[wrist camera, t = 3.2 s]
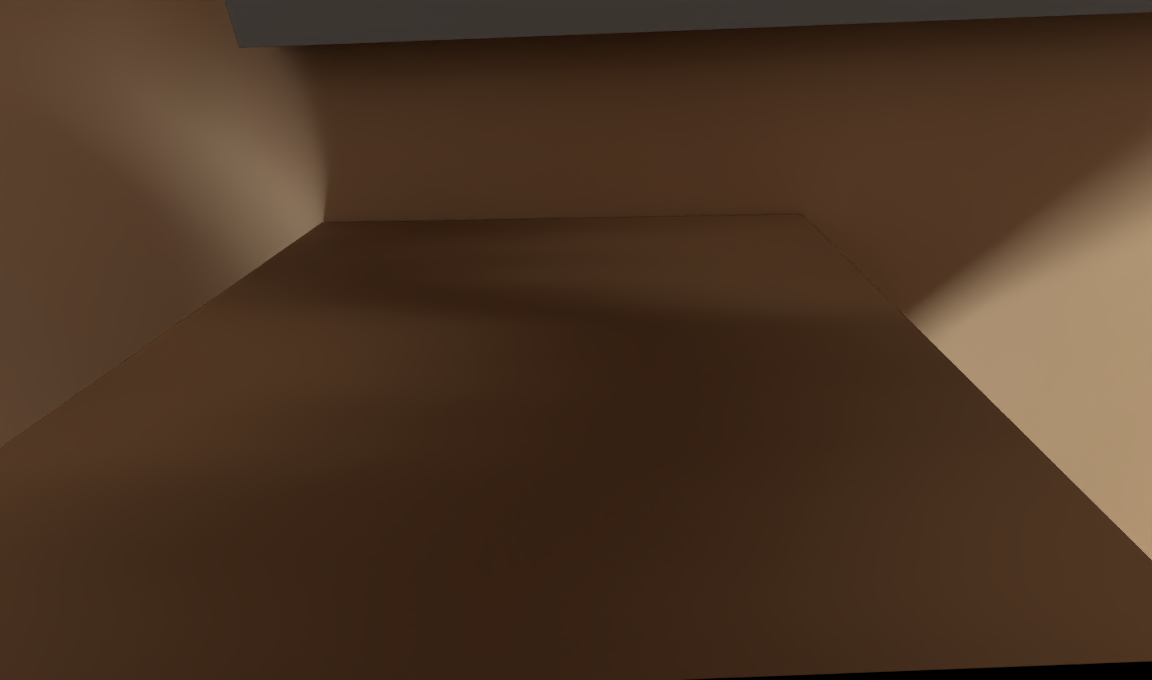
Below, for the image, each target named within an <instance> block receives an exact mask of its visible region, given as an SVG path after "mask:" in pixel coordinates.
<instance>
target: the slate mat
mask: <svg viewBox="0 0 1152 680" xmlns="http://www.w3.org/2000/svg"><path fill="white" fill-rule="evenodd" d="M225 2H226V5H227V9H228V12H229V15H230V19H231V22H232V25H233V28H234V32H235V35H236V38H237V42H238V45H239V48H247V47H272V46H298V45H324V44H349V43H375V42H401V41H426V40H452V39H478V38H503V37H529V36H554V35H580V34H606V33H631V32H657V31H683V30H708V29H734V28H760V27H785V26H811V25H836V24H862V23H888V22H913V21H939V20H965V19H990V18H1016V17H1042V16H1067V15H1093V14H1119V13H1144V12H1152V0H225Z"/></svg>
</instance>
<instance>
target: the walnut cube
mask: <svg viewBox="0 0 1152 680" xmlns="http://www.w3.org/2000/svg"><path fill="white" fill-rule="evenodd" d="M0 680H1152V560H1151V559H1150V558H1149V557H1148V556H1147V555H1146V554H1145V553H1144V552H1143V551H1142V550H1141V549H1140V548H1139V547H1138V546H1137V545H1136V544H1135V543H1134V542H1133V541H1132V540H1131V539H1130V538H1129V537H1128V536H1127V535H1126V534H1125V533H1124V532H1123V531H1122V530H1121V529H1120V528H1119V527H1118V526H1117V525H1116V524H1115V523H1114V522H1113V521H1111V520H1110V519H1109V518H1108V517H1107V516H1106V515H1105V514H1104V513H1103V512H1102V511H1101V510H1100V509H1099V508H1098V507H1097V506H1096V505H1095V504H1094V503H1093V502H1092V501H1091V500H1090V499H1089V498H1088V497H1087V496H1086V495H1085V494H1084V493H1083V492H1082V491H1081V490H1080V489H1079V488H1078V487H1077V486H1076V485H1075V484H1074V483H1073V482H1072V481H1071V480H1070V479H1069V478H1068V477H1067V476H1066V475H1065V474H1064V473H1063V472H1062V471H1061V470H1060V469H1059V468H1058V467H1057V466H1056V465H1055V464H1054V463H1053V462H1052V461H1051V460H1050V459H1049V458H1048V457H1047V456H1046V455H1045V454H1044V453H1043V452H1042V451H1041V450H1040V449H1039V448H1038V447H1037V446H1036V445H1035V444H1034V443H1033V442H1032V441H1031V440H1030V439H1029V438H1028V437H1027V436H1026V435H1025V434H1024V433H1023V432H1022V431H1021V430H1020V429H1019V428H1018V427H1017V426H1016V425H1015V424H1014V423H1013V422H1012V421H1011V420H1009V419H1008V418H1007V417H1006V416H1005V415H1004V414H1003V413H1002V412H1001V411H1000V410H999V409H998V408H997V407H996V406H995V405H994V404H993V403H992V402H991V401H990V400H989V399H988V398H987V397H986V396H985V395H984V394H983V393H982V392H981V391H980V390H979V389H978V388H977V387H976V386H975V385H974V384H973V383H972V382H971V381H970V380H969V379H968V378H967V377H966V376H965V375H964V374H963V373H962V372H961V371H960V370H959V369H958V368H957V367H956V366H955V365H954V364H953V363H952V362H951V361H950V360H949V359H948V358H947V357H946V356H945V355H944V354H943V353H942V352H941V351H940V350H939V349H938V348H937V347H936V346H935V345H934V344H933V343H932V342H931V341H930V340H929V339H928V338H927V337H926V336H925V335H924V334H923V333H922V332H921V331H920V330H919V329H918V328H917V327H916V326H915V325H914V324H913V323H912V322H911V321H910V320H908V319H907V318H906V317H905V316H904V315H903V314H902V313H901V312H900V311H899V310H898V309H897V308H896V307H895V306H894V305H893V304H892V303H891V302H890V301H889V300H888V299H887V298H886V297H885V296H884V295H883V294H882V293H881V292H880V291H879V290H878V289H877V288H876V287H875V286H874V285H873V284H872V283H871V282H870V281H869V280H868V279H867V278H866V277H865V276H864V275H863V274H862V273H861V272H860V271H859V270H858V269H857V268H856V267H855V266H854V265H853V264H852V263H851V262H850V261H849V260H848V259H847V258H846V257H845V256H844V255H843V254H842V253H841V252H840V251H839V250H838V249H837V248H836V247H835V246H834V245H833V244H832V243H831V242H830V241H829V240H828V239H827V238H826V237H825V236H824V235H823V234H822V233H821V232H820V231H819V230H818V229H817V228H816V227H815V226H814V225H813V224H812V223H811V222H810V221H809V220H808V219H806V218H805V217H804V216H803V215H802V214H787V215H730V216H672V217H615V218H557V219H500V220H442V221H385V222H328V223H321V224H319V225H318V226H316V227H315V228H314V229H312V230H311V231H309V232H308V233H306V234H305V235H304V236H302V237H301V238H299V239H298V240H296V241H295V242H294V243H292V244H291V245H289V246H288V247H286V248H285V249H284V250H282V251H281V252H279V253H278V254H276V255H275V256H274V257H272V258H271V259H269V260H268V261H266V262H265V263H264V264H262V265H261V266H259V267H258V268H256V269H255V270H254V271H252V272H251V273H249V274H248V275H246V276H245V277H244V278H242V279H241V280H239V281H238V282H236V283H235V284H234V285H232V286H231V287H229V288H228V289H227V290H225V291H224V292H222V293H221V294H219V295H218V296H217V297H215V298H214V299H212V300H211V301H209V302H208V303H207V304H205V305H204V306H202V307H201V308H199V309H198V310H197V311H195V312H194V313H192V314H191V315H189V316H188V317H187V318H185V319H184V320H182V321H181V322H179V323H178V324H177V325H175V326H174V327H172V328H171V329H169V330H168V331H167V332H165V333H164V334H162V335H161V336H159V337H158V338H157V339H155V340H154V341H152V342H151V343H149V344H148V345H147V346H145V347H144V348H142V349H141V350H139V351H138V352H137V353H135V354H134V355H132V356H131V357H129V358H128V359H127V360H125V361H124V362H122V363H121V364H119V365H118V366H117V367H115V368H114V369H112V370H111V371H110V372H108V373H107V374H105V375H104V376H102V377H101V378H100V379H98V380H97V381H95V382H94V383H92V384H91V385H90V386H88V387H87V388H85V389H84V390H82V391H81V392H80V393H78V394H77V395H75V396H74V397H72V398H71V399H70V400H68V401H67V402H65V403H64V404H62V405H61V406H60V407H58V408H57V409H55V410H54V411H52V412H51V413H50V414H48V415H47V416H45V417H44V418H42V419H41V420H40V421H38V422H37V423H35V424H34V425H32V426H31V427H30V428H28V429H27V430H25V431H24V432H22V433H21V434H20V435H18V436H17V437H15V438H14V439H12V440H11V441H10V442H8V443H7V444H5V445H4V446H2V447H1V448H0Z"/></svg>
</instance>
